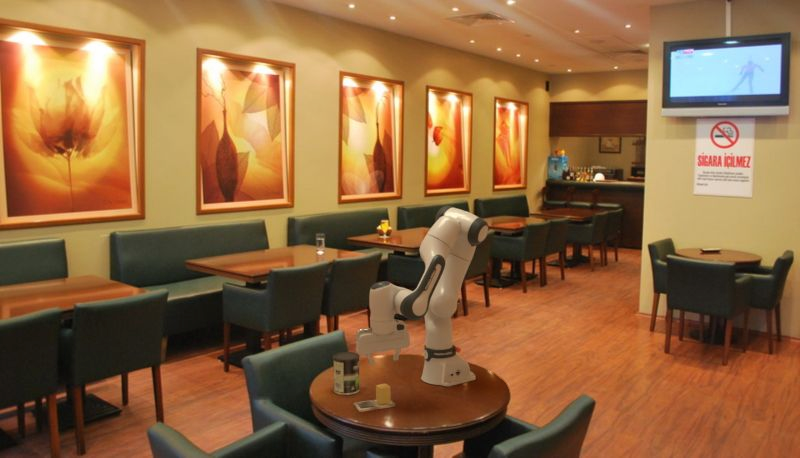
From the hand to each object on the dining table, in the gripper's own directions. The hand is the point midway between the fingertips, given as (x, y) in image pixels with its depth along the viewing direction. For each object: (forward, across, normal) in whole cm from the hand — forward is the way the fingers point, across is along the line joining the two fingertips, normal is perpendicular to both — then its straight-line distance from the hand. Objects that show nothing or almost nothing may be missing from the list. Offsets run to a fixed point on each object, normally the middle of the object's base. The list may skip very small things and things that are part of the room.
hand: (383, 362), depth 241 cm
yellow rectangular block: (+15, -1, 0) cm, 15 cm away
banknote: (+16, -4, 0) cm, 17 cm away
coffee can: (+16, -10, +18) cm, 26 cm away
